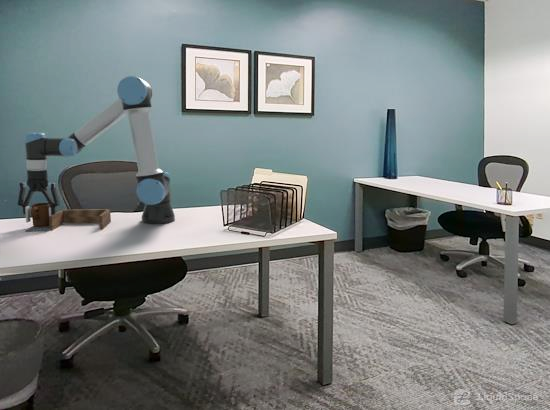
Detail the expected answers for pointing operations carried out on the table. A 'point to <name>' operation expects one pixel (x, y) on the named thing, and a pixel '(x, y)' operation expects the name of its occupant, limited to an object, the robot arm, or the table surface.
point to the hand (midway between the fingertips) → (40, 221)
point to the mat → (38, 229)
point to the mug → (40, 214)
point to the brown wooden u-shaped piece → (80, 217)
